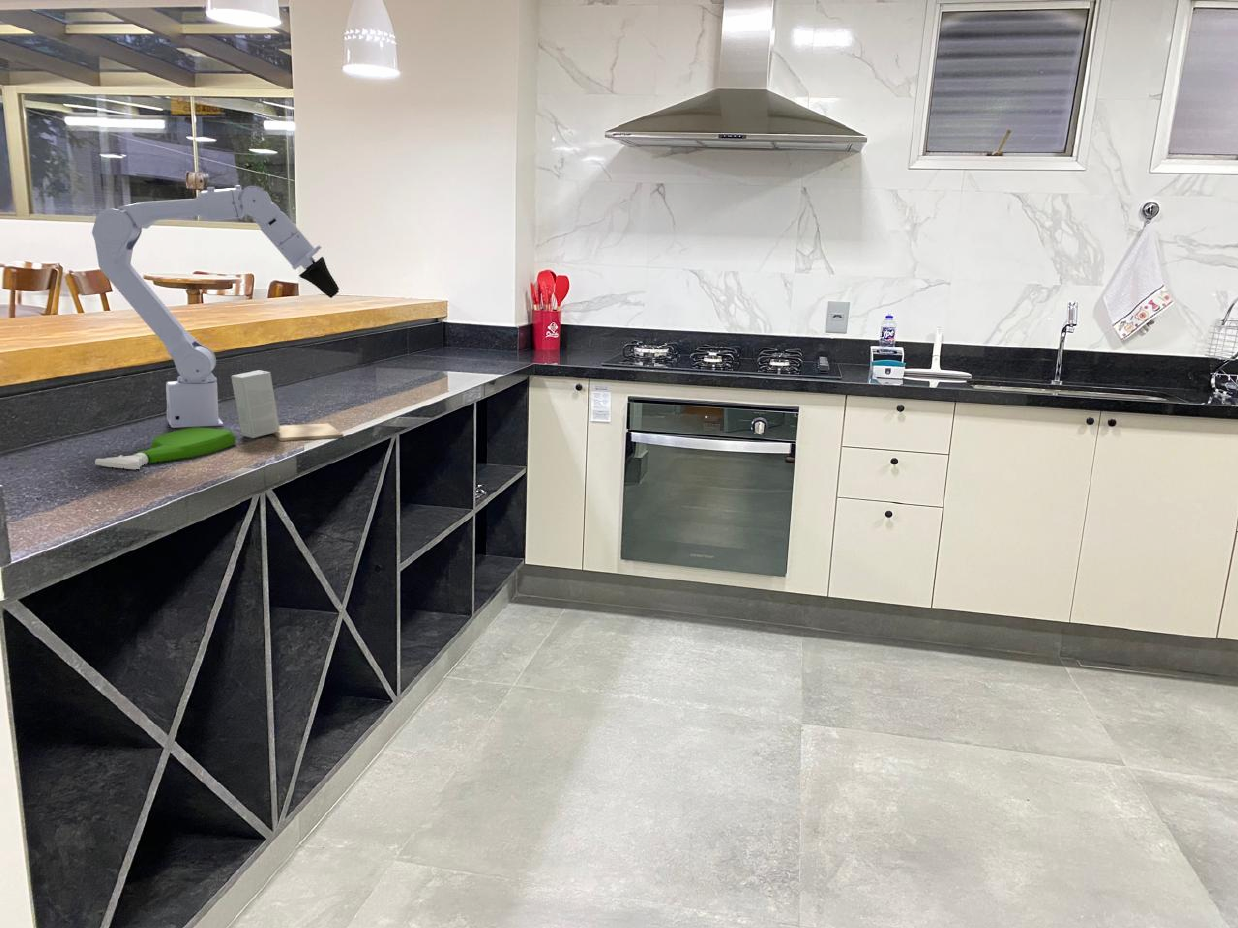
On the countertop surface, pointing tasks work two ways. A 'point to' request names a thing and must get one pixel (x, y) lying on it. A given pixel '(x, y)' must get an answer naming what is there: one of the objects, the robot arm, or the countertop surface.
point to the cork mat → (307, 432)
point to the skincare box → (255, 403)
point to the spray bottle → (175, 447)
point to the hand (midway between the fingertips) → (335, 293)
